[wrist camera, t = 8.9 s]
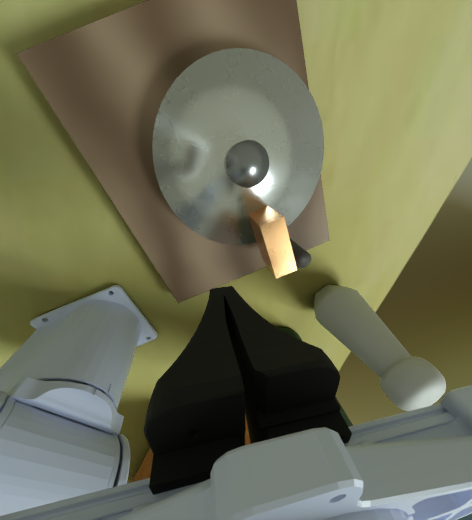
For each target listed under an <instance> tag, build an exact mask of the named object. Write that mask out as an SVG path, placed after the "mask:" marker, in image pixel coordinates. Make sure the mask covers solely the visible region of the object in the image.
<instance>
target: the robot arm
mask: <svg viewBox="0 0 472 520" xmlns="http://www.w3.org/2000/svg"><path fill="white" fill-rule="evenodd" d="M110 291H112V292H113V293H111V292H110ZM45 318H47V319H45ZM30 325H31V326H32V327H34V328H35V329H36V330H35V332H34V333H33V334H32V335H31V336H30V337H29V338H28V339H27V340H26V341H25V342H24V343H23V344H22V345H21V347H20V348H19V349H18V350H17V351H16V352H15V353H14V354H13V355H12V356H11V357H10V358H9V359H8V361H7V362H6V363H5V364H4V365H3V366H2V367H1V368H0V520H457V519H459V518H461V517H464V516H466V515H469V514H471V513H472V385H470V386H466V387H462V388H458V389H454V390H452V391H449V392H448V393H446V394H445V395H444V396H443V398H442V399H441V403H440V404H436V405H432V406H428V407H424V408H420V409H416V410H412V411H408V412H404V413H401V414H397V415H393V416H389V417H386V418H381V419H377V420H373V421H369V422H365V423H361V424H358V425H354V426H350V427H348V425H347V424H346V422H345V420H344V419H343V417H342V415H341V413H340V412H339V411H340V409H341V408H340V405H339V403H338V402H337V400H336V398H335V395H336V392H337V388H338V385H339V380H340V375H339V372H338V370H337V369H336V367H335V366H334V364H333V363H332V361H331V360H330V359H329V357H328V356H327V355H326V354H325V353H324V352H323V350H322V349H320V348H318V347H315V346H313V345H310V344H308V343H305V342H303V341H301V340H299V339H297V338H295V337H292V336H290V335H289V334H287V333H285V332H283V331H282V330H280V329H278V328H277V327H275V326H273V325H272V324H270V323H269V322H268V321H266V320H265V319H264V318H262V317H261V316H260V315H259V314H258V313H257V312H255V311H254V310H253V309H252V308H251V307H250V306H249V305H248V304H247V303H246V302H245V301H244V300H243V299H242V297H241V296H240V295H239V294H238V293H237V292H236V290H235V289H234V288H233V287H232V286H229V287H221V288H214V289H211V290H210V295H209V300H208V304H207V307H206V310H205V312H204V315H203V317H202V320H201V322H200V324H199V326H198V328H197V330H196V332H195V333H194V335H193V337H192V338H191V340H190V342H189V343H188V345H187V346H186V348H185V349H184V350H183V352H182V353H181V354H180V356H179V357H178V358H177V360H176V361H175V362H174V363H173V365H172V366H171V367H170V368H169V369H168V370H167V371H166V372H165V373H164V374H163V376H162V377H161V378H160V379H159V380H158V381H157V383H156V386H155V388H154V391H153V394H152V396H151V400H150V403H149V406H148V410H147V416H146V421H145V427H144V433H145V437H146V439H147V441H148V444H149V446H150V448H151V450H152V453H153V461H152V468H151V475H150V478H147V479H143V480H139V481H135V482H131V483H127V480H128V475H129V467H130V445H129V441H128V439H127V438H126V436H124V435H123V434H120V430H121V427H122V423H123V419H124V416H123V415H121V414H119V413H118V412H117V409H118V405H119V402H120V399H121V396H122V392H123V389H124V386H125V383H126V379H127V376H128V373H129V370H130V366H131V363H132V360H133V357H134V353H135V350H136V347H137V346H139V345H142V344H144V343H147V342H149V341H151V340H154V339H156V338H157V335H158V334H157V332H156V331H155V330H154V328H153V327H152V326H151V324H150V323H149V322H148V321H147V319H146V318H145V317H144V316H143V314H142V313H141V312H140V311H139V309H138V308H137V307H136V305H135V304H134V303H133V302H132V300H131V299H130V298H129V297H128V295H127V294H126V293H125V292H124V290H123V289H122V288H121V287H120V286H118V285H114V286H111V287H109V288H106V289H104V290H101V291H99V292H97V293H94V294H92V295H89V296H87V297H84V298H82V299H80V300H77V301H75V302H72V303H70V304H67V305H65V306H62V307H60V308H58V309H55V310H53V311H50V312H48V313H45V314H43V315H41V316H38V317H36V318H34V319H32V320H31V321H30ZM245 414H246V420H247V426H248V432H249V438H250V444H249V445H245V433H246V424H245Z"/></svg>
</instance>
